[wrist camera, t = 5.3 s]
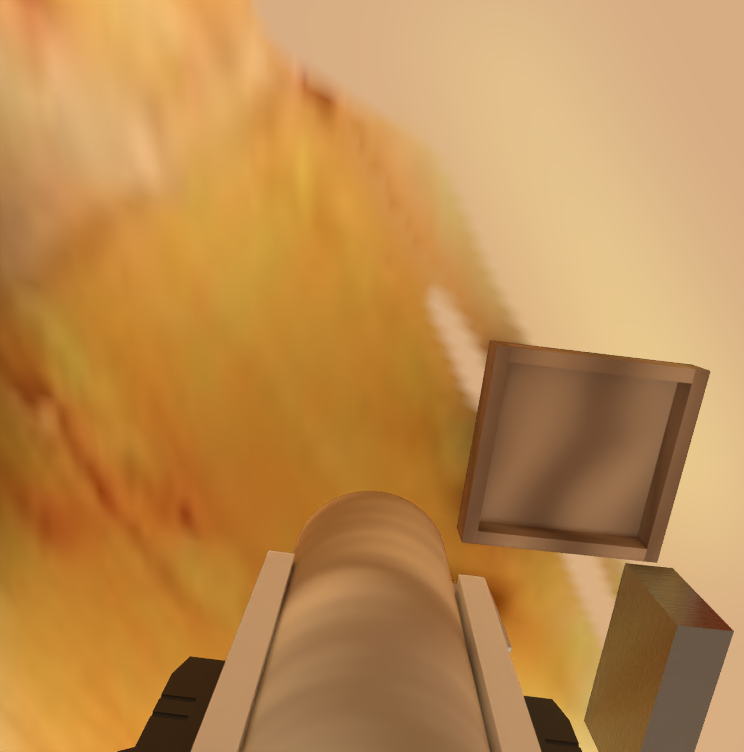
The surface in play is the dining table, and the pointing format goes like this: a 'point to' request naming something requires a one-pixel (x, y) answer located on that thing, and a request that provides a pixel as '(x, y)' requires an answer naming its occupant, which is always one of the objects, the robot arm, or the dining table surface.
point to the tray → (578, 451)
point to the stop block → (656, 665)
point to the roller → (368, 640)
